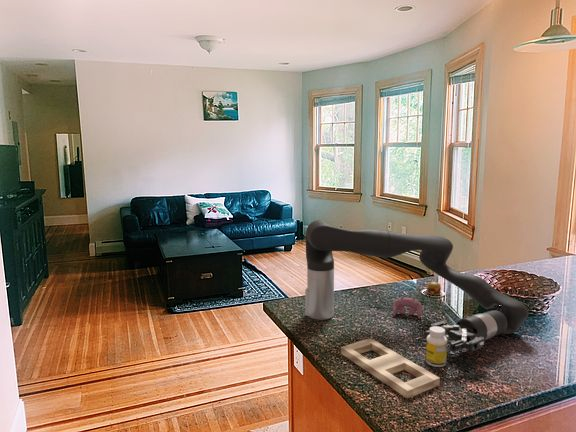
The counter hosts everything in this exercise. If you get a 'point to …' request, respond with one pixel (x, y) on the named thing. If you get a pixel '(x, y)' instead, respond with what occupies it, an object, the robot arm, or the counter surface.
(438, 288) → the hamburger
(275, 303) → the counter surface
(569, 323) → the counter surface
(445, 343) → the supplement bottle
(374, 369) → the socket rail
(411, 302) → the pink arch block
